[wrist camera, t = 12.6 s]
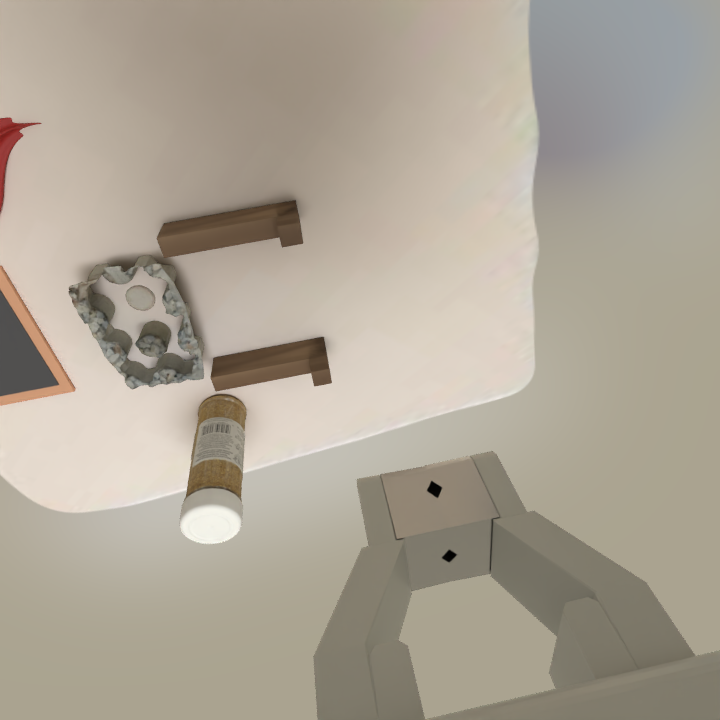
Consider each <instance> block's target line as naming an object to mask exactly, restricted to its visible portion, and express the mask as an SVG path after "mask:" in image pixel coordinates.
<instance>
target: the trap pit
mask: <svg viewBox="0 0 720 720" xmlns="http://www.w3.org/2000/svg"><path fill="white" fill-rule="evenodd" d="M74 391H75V388H74V386H73V384H72V383H71V381H70V379H69V378H68V376H67V374H66V373H65V371H64V369H63V368H62V366H61V364H60V363H59V361H58V359H57V358H56V356H55V354H54V353H53V351H52V349H51V348H50V346H49V344H48V343H47V341H46V339H45V338H44V336H43V334H42V333H41V331H40V329H39V328H38V326H37V324H36V323H35V321H34V319H33V318H32V316H31V314H30V313H29V311H28V309H27V308H26V306H25V304H24V303H23V301H22V299H21V298H20V296H19V294H18V293H17V291H16V289H15V288H14V286H13V284H12V283H11V281H10V279H9V278H8V276H7V274H6V273H5V271H4V269H3V268H2V266H0V406H1V405H6V404H11V403H16V402H22V401H27V400H32V399H37V398H42V397H48V396H53V395H58V394H63V393H68V392H74Z"/></svg>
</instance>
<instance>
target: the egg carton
mask: <svg viewBox="0 0 720 720" xmlns="http://www.w3.org/2000/svg"><path fill="white" fill-rule="evenodd" d="M138 267H143V268H144V271H146V272H147V273H148V274H149V275H150V276H152V277H157V278H160V279H163V280H165V281H166V282H167V283H168V285H167V287H166V290H165V293H164V295H163V300H162V301H163V304H164V306H165V308H166V313H167V314H171V315H173V316H175V317H176V316H179V315H184V318H183V320H182V324H181V327H180V331H179V333H178V344H179V346H180V347H181V349H183V350H184V351H188V352H189V353H190V354H195V358H194V359H193V360H183V359H182V358H181V357H180V356H178V355H176V354H173V353H166V354H164V353H165V352H166V351H167V348H168V344H169V341H170V337H171V331H170V329H169V327H168V326H167V325H165V324H164V323H161V322H159V321H151V322H148V323H147V324H145V325H144V327H143V329H142V332H141V334H140V336H139V339H138V340H137V341H136V343H135V344H136V346H137V347H138V348H139V350H140V351H141V353H142V354H144V355H147V356H150V357H159V359H158V362H157V366H156V368H151V369H147V368H146V367H145V366H144V365H143V364H141V363H139V362H136V361H129V360H128V358H127V356H128V353H129V351H130V348H131V346H132V339H131V337H130V336H129V335H128V334H127V333H126V332H124V331H122V330H118V329H114V328H113V326H112V325H111V324H110V323H109V322H110V320H111V319H112V317H113V314H114V311H115V306H114V304H113V302H112V301H111V300H110V299H109V298H108V297H106V296H104V295H100V294H94V292H93V291H92V289H91V287H90V285H91V284H93V283H96V281H97V280H98V279H99V278H100V276H101V275H103V276H104V277H105V279H107V280H108V281H109V282H112V283H116V284H126V283H128V282H129V281H131V280H132V278H133V277H134V275H135V273H136V271H137V269H138ZM175 279H176V272H175V270H174V268H173V266H172V265H163V264H160V263H159V262H157V261H156V260H155V259H154V258H153V257H152V256H150V255H149V256H141V257H139V258H138V260H137V262H136V263H135V266H134V267H132V268H129V269H128V270H127V271H126V272H125V271H124V269H123V268H122V267H121V266H114V267H111V266H110V265H109V264H102V265H97V266H95V268H94V269H93V271H92V272H91V274H90V276H89V278H88V282H81V283H79V284H76V285H72V286H70V287H69V290H70V291H69V295H70V296H71V298H72V302H73V304H74V306H75V308H76V309H77V311H78V314H79V316H80V317H81V319H82V320H83V321H84V323H85V324H86V323H88V325H89V327H90V330H91V332H92V335H93V337H94V338H96V339H97V341H98V343H99V345H100V347H101V349H102V351H103V353H104V356H105V357H106V358H107V359H108V361H109V362H110V363H111V364H112V365H113V366H114V367H115V368H116V369H117V371H118V372H119V373H120V374H122V375H123V376H124V377H125V383H126V384H127V386H128V387H130V388H131V389H135V388H137V387H138V386H141V385H149V387H154V386H156V385H158V384H166V385H167V384H170V383H181V382H183V381H185V380H187V379H190V380H199V379H203V378H204V369H203V362H202V355H203V350H204V343H203V340H202V338H201V337H199V336H194V333H193V328H192V326H191V323H190V320H189V318H190V315H191V310H190V308H189V305H188V303H186V302H184V301H183V300H182V298H181V296H180V294H179V292H178V290H177V288H176V286H175V284H174V282H175ZM126 300H127V302H128V304H130V306H132V307H133V308H135V309H137V310H142V311H145V310H148V309H150V308H152V307H153V306H154V303H155V296H154V294H153V292H152V291H151V290H150V289H148V288H146V287H144V286H140V285H137V286H133V287H131V288H130V289H128V290H127V293H126ZM163 354H164V355H163Z"/></svg>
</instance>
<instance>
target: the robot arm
mask: <svg viewBox="0 0 720 720" xmlns="http://www.w3.org/2000/svg"><path fill="white" fill-rule="evenodd" d="M357 487H358V493H359V498H360V503H361V509H362V514H363V519H364V524H365V530H366V534H367V540H368V545H369V546H367V547H363V548H362V549H361V551H360V553H359V555H358V558H357V560H356V562H355V565H354V567H353V569H352V571H351V573H350V576H349V578H348V580H347V582H346V585H345V587H344V589H343V591H342V594H341V596H340V598H339V600H338V602H337V605H336V607H335V609H334V611H333V614H332V616H331V618H330V620H329V623H328V625H327V627H326V629H325V632H324V634H323V636H322V638H321V641H320V643H319V645H318V648H317V650H316V652H315V654H314V671H315V686H316V701H317V717H318V720H720V650H719V651H715V652H711V653H707V654H702V655H698V656H695V654H694V653H693V651H692V650H691V648H690V647H689V645H688V644H687V643H686V641H685V640H684V638H683V637H682V635H681V634H680V632H679V631H678V629H677V628H676V626H675V625H674V623H673V622H672V620H671V619H670V617H669V616H668V614H667V613H666V611H665V610H664V608H663V607H662V605H661V604H660V602H659V601H658V599H657V598H656V596H655V595H654V593H653V592H652V590H651V589H650V587H649V586H648V584H647V583H646V582H645V581H643V580H642V579H640V578H639V577H637V576H635V575H634V574H632V573H631V572H629V571H628V570H626V569H624V568H623V567H621V566H620V565H618V564H617V563H615V562H613V561H612V560H610V559H609V558H607V557H606V556H604V555H602V554H601V553H599V552H598V551H596V550H595V549H593V548H592V547H590V546H588V545H587V544H585V543H584V542H582V541H581V540H579V539H577V538H576V537H574V536H573V535H571V534H570V533H568V532H566V531H565V530H563V529H562V528H560V527H559V526H557V525H556V524H554V523H552V522H551V521H549V520H548V519H546V518H545V517H543V516H542V515H540V514H538V513H537V512H535V511H530V512H527V511H526V509H525V507H524V505H523V503H522V501H521V500H520V498H519V496H518V494H517V492H516V490H515V488H514V486H513V484H512V483H511V481H510V479H509V477H508V475H507V473H506V471H505V469H504V468H503V466H502V464H501V462H500V460H499V458H498V456H497V454H495V453H494V452H493V451H491V452H486V453H481V454H476V455H472V456H466V457H461V458H456V459H452V460H447V461H443V462H438V463H434V464H429V465H425V466H423V467H418V468H413V469H407V470H401V471H396V472H390V473H385V474H380V475H375V476H370V477H365V478H359V479H357ZM486 574H491V577H492V578H494V579H495V580H496V581H497V582H498V583H499V584H500V585H501V586H502V587H503V588H504V589H505V590H507V591H508V592H509V593H510V594H511V595H512V596H513V597H514V598H515V599H516V600H517V601H519V602H520V603H521V604H522V605H523V606H524V607H525V608H526V609H527V610H528V611H529V612H531V613H532V614H533V615H534V616H535V617H536V618H537V619H538V620H540V622H542V623H543V624H544V625H545V626H546V627H547V628H548V629H549V630H550V631H551V632H552V633H554V634H555V635H556V636H557V640H556V644H555V649H554V653H553V658H552V662H551V666H550V671H549V674H550V676H551V679H552V681H553V683H554V686H555V688H556V689H553V690H548V691H544V692H540V693H536V694H531V695H528V696H523V697H518V698H514V699H510V700H506V701H501V702H497V703H493V704H489V705H485V706H480V707H476V708H472V709H467V710H463V711H459V712H454V713H450V714H446V715H442V716H438V717H433V718H429V719H425V717H424V713H423V709H422V704H421V700H420V696H419V692H418V687H417V683H416V679H415V674H414V670H413V666H412V662H411V657H410V653H409V649H408V646H407V645H405V644H404V643H402V642H400V641H399V636H400V633H401V629H402V626H403V622H404V619H405V615H406V612H407V608H408V605H409V601H410V598H411V594H412V593H411V591H414V590H418V589H422V588H426V587H430V586H434V585H438V584H442V583H446V582H450V581H455V580H460V579H466V578H471V577H476V576H481V575H486Z"/></svg>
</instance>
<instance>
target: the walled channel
mask: <svg viewBox="0 0 720 720" xmlns="http://www.w3.org/2000/svg"><path fill="white" fill-rule="evenodd" d="M278 237H280V241H281V245H282V247H287V246H292V245H298V244H303V239H302V232H301V226H300V219H299V215H298V210H297V205H296V200H295V201H289V202H284V203H278V204H272V205H267V206H261V207H255V208H250V209H244V210H238V211H233V212H227V213H221V214H216V215H210V216H204V217H199V218H193V219H187V220H182V221H176V222H170V223H165V224H163V226H162V228H161V230H160V232H159V234H158V236H157V240H158V243H159V246H160V248H161V251H162V253H163V256H164V258H167V257H173V256H178V255H184V254H189V253H195V252H200V251H206V250H211V249H217V248H223V247H228V246H234V245H239V244H245V243H250V242H256V241H261V240H267V239H273V238H278ZM308 373H311V374H312V378H313V383H314V386H319V385H324V384H329V383H332V381H331V375H330V369H329V364H328V358H327V352H326V347H325V342H324V337H321V338H315V339H310V340H305V341H300V342H295V343H289V344H284V345H279V346H274V347H268V348H263V349H258V350H253V351H248V352H242V353H237V354H232V355H227V356H221V357H216V358H214V359H213V366H212V372H211V380H212V383H213V385H214V388H215V391H220V390H226V389H231V388H236V387H241V386H246V385H251V384H256V383H261V382H267V381H272V380H277V379H282V378H287V377H292V376H297V375H303V374H308Z"/></svg>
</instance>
